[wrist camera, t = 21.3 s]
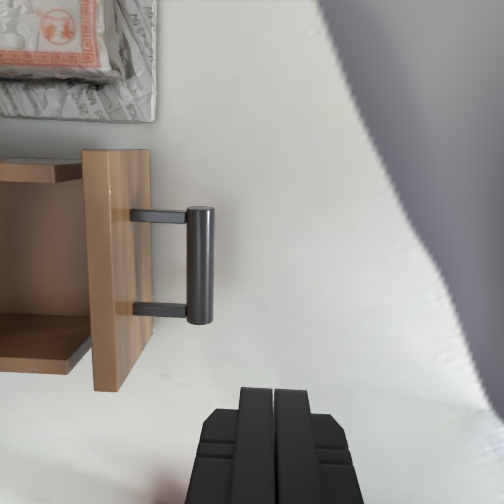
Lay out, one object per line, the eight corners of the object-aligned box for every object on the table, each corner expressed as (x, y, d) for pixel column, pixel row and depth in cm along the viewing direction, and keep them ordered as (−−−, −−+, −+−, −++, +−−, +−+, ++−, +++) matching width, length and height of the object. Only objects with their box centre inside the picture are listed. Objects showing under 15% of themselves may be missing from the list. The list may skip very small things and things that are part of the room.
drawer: (223, 152, 25) (207, 153, 18) (219, 337, 28) (204, 397, 21) (-66, 141, 25) (-183, 139, 19) (-42, 325, 28) (-137, 380, 21)
